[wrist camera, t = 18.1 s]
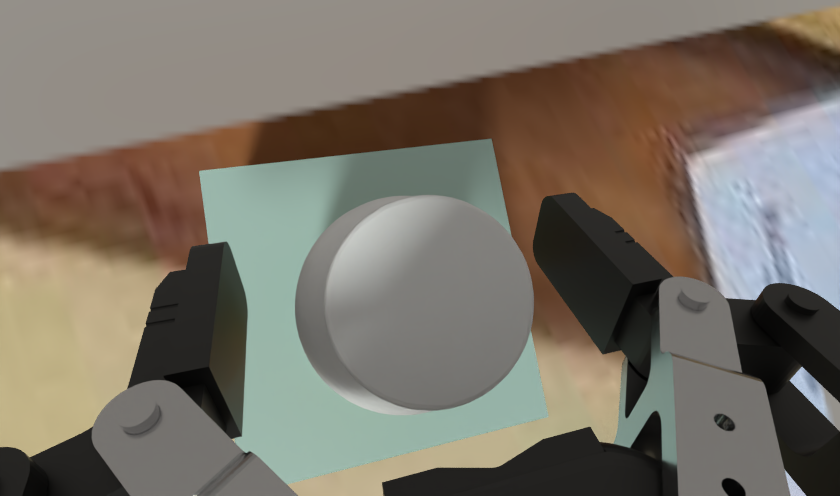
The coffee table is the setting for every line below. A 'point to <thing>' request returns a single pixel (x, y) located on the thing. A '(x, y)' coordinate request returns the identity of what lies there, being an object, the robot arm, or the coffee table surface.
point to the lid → (276, 289)
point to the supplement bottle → (414, 304)
